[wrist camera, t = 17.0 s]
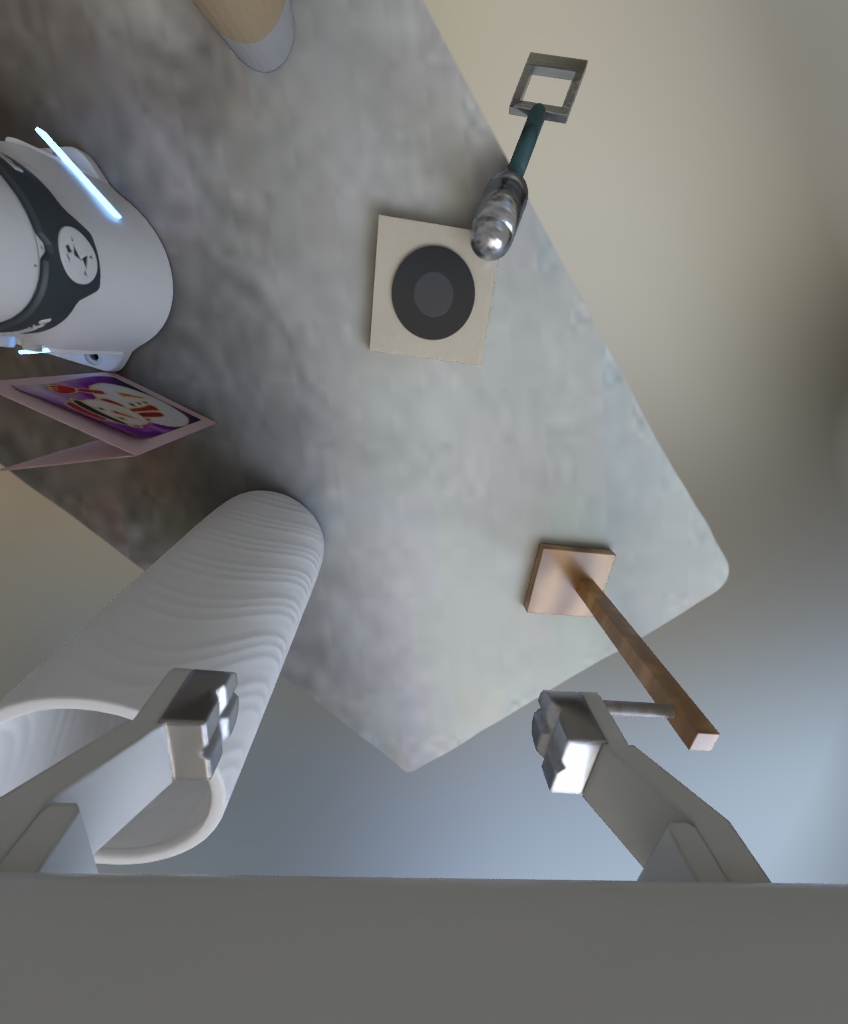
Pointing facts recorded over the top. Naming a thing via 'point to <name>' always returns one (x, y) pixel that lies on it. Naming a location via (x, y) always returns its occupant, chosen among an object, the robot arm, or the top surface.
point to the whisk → (521, 157)
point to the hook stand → (614, 635)
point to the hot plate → (430, 292)
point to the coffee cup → (253, 29)
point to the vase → (174, 660)
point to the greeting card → (103, 415)
